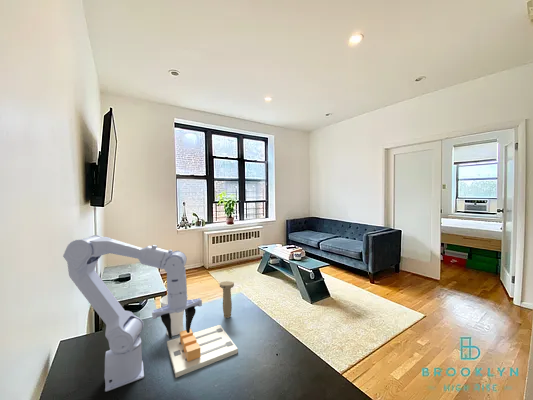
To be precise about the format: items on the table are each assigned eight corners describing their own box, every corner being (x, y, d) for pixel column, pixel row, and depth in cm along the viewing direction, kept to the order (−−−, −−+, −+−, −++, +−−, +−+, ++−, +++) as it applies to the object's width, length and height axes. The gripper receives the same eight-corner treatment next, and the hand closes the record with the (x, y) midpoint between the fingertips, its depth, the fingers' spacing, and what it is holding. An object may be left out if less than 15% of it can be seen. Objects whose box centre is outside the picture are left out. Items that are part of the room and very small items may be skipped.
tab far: (181, 344, 80) (181, 336, 80) (179, 340, 83) (179, 331, 83) (193, 340, 82) (192, 332, 82) (191, 336, 85) (190, 328, 85)
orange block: (187, 361, 72) (187, 352, 72) (185, 355, 74) (185, 346, 74) (200, 356, 74) (200, 347, 74) (197, 351, 76) (197, 342, 76)
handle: (232, 320, 99) (231, 285, 99) (218, 318, 101) (217, 284, 101) (236, 314, 104) (235, 281, 104) (223, 313, 105) (222, 281, 105)
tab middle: (184, 352, 76) (184, 343, 76) (182, 347, 79) (182, 338, 79) (196, 348, 78) (196, 339, 78) (194, 343, 81) (194, 335, 81)
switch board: (175, 377, 67) (175, 372, 67) (167, 345, 83) (167, 341, 83) (237, 352, 78) (237, 348, 78) (220, 328, 93) (219, 324, 93)
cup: (160, 328, 94) (159, 295, 94) (186, 321, 99) (186, 290, 99) (161, 342, 85) (160, 306, 85) (190, 334, 89) (189, 299, 89)
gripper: (152, 301, 65) (154, 349, 65) (203, 289, 72) (205, 332, 72) (150, 293, 71) (152, 337, 71) (197, 283, 78) (199, 322, 78)
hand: (179, 334), depth 72 cm, fingers open, 5 cm apart
